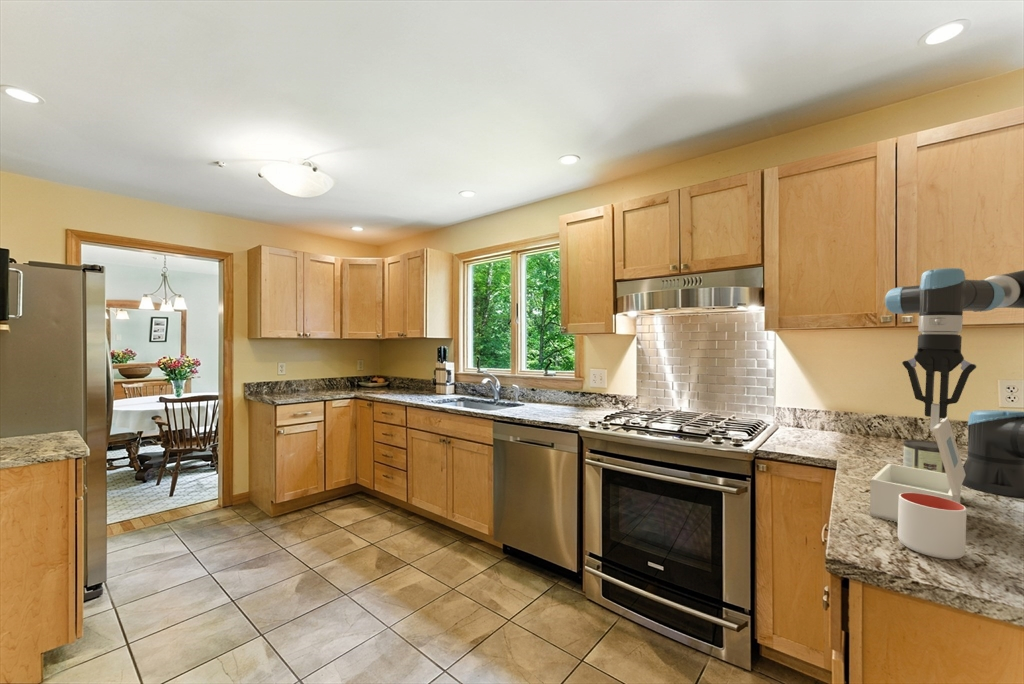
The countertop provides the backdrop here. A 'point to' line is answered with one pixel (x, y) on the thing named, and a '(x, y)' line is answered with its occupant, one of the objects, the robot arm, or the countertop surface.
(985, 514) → the countertop surface
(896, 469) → the box
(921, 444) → the coffee can
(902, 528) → the cup
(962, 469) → the lid
